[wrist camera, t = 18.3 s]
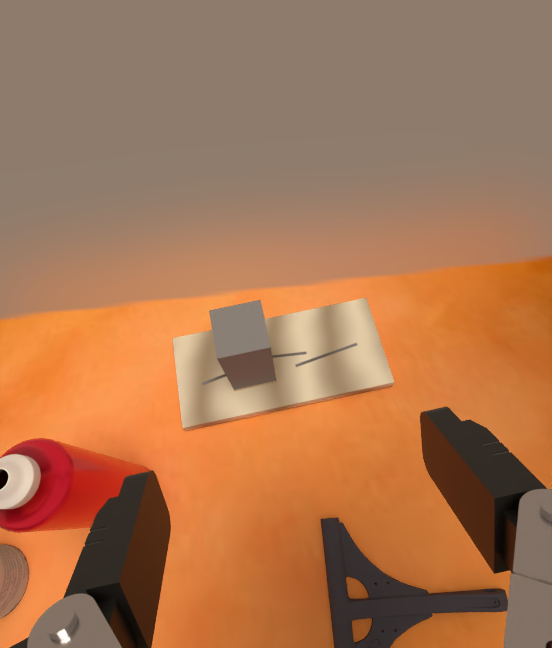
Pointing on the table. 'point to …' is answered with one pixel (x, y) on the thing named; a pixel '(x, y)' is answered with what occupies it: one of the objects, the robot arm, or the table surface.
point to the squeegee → (386, 595)
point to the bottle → (56, 485)
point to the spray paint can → (12, 578)
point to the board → (286, 365)
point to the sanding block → (243, 345)
